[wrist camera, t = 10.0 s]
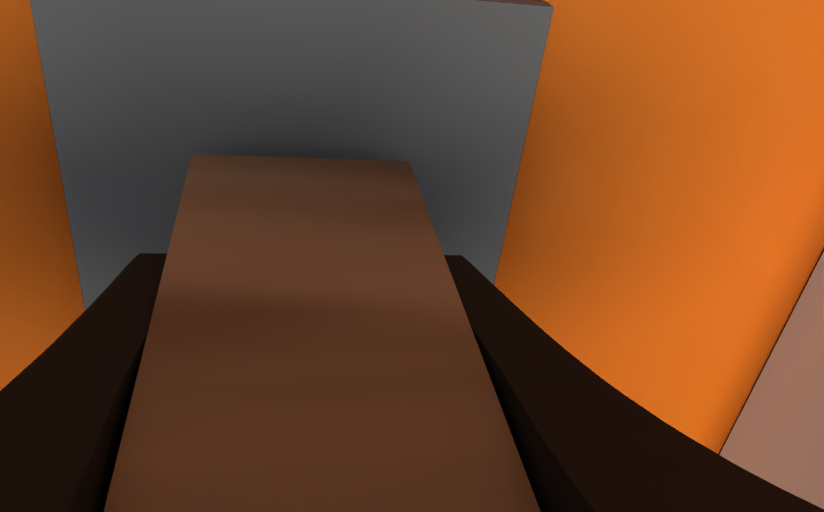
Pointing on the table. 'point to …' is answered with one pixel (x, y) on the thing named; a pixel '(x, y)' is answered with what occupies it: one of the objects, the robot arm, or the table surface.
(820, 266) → the button base
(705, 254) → the table surface
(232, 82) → the rubber pad
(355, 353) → the walnut peg
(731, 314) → the table surface
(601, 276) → the table surface
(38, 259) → the table surface
